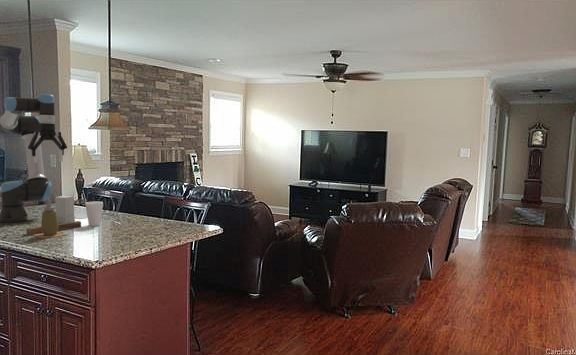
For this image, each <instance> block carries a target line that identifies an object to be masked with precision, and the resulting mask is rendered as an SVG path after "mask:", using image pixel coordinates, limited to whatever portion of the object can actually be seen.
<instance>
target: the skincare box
mask: <svg viewBox="0 0 576 355" xmlns="http://www.w3.org/2000/svg"><path fill="white" fill-rule="evenodd" d="M54 199H55V201H54V202H55V211H56V213H57V220H58V224H61V223H68V222H75V221H76V220H75V218H76V217H75V203H74V202H75V200H74V196H71V195H60V196H55V197H54Z"/></svg>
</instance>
